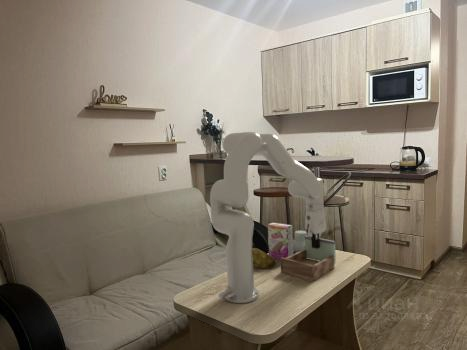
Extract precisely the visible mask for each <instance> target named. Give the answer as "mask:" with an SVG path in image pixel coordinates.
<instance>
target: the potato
mask: <svg viewBox="0 0 467 350" xmlns="http://www.w3.org/2000/svg"><path fill="white" fill-rule="evenodd" d="M252 255H253V266H255V267H257V268H259V269H271V268H273V267H274V266H276V259H274V258H273V257H272V256H270V255H269V253H266V252H265V251H263V250H261V249H259V248H255V247H252Z"/></svg>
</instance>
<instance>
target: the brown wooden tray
mask: <svg viewBox="0 0 467 350" xmlns="http://www.w3.org/2000/svg"><path fill="white" fill-rule="evenodd" d="M279 261H280V273H281V274H284V275H287V276H290V277H294V278H297V279H300V280H304V281H307V282H311V283H313V282H315V281H316V280H318V279H320V277H322V276H324V275H325V274H327V273H329V272H331V271H332V270H333V269H335V264H334V256H333V255H331V256H329V257H327V258H326V259H324V260H322V261H318V260H314V259H310V258H307V250H306V249H304V250H301V251H299V252H295V253H293V255H291V256H289V257H286V258H283V257H281V258H280V260H279Z"/></svg>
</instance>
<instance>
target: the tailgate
mask: <svg viewBox="0 0 467 350" xmlns="http://www.w3.org/2000/svg"><path fill="white" fill-rule="evenodd" d="M305 249H306V250H307V258H308V259H313V260H317V261H322V260H324V259H326V258H327V257H329V256H331V255H333V256H334V265H336V262H337V261H336V259H337V258H336V241H335V240H331V239H326V238H325V239H324V238H321V237H320V248H318V249H316V248H312V240H311V237H308V235H307V236H305Z"/></svg>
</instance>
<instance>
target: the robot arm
mask: <svg viewBox="0 0 467 350" xmlns="http://www.w3.org/2000/svg"><path fill="white" fill-rule="evenodd" d="M222 147H223V152H225V154H227V157H226V158H225V159H224V164H223V179H219V180H216V181H215V182H214V183H213V184H212V186H211V189H210V192H209V193H210V194H209V199H210V202H209V203H210V217H211V218H210V219H211V225H212V227H213V229H214V230H215V231H217V232H218V233H220V234H223V235H227V236H228V240H227V243H226V246H225V247H226V248H225V255H226V268H227V269H226V271H227V272H226V273H227V285H226V286H225V289H224V291H222V292H220V293H218V298H219V299H226V301H228V302H231V303H233V304H246V303H250V302H251V303H252V302H253V301H255V300H257V299H258V297H259V294H260V293H259V290H258V289H257V288H256V287H255V280H254V279H255V278H254V277H255V276H254V265H253V255H252V248H253V235H254V228H255V223H254V219H253V218H252V216H251V214H249V213H247V212H245V211H242V210H237V209H233V208H243V207H245V206H246V205H247V204H248V201H249V176H248V175H249V174H248V173H249V172H248V171H249V164H250V162H251V161H252V159H253V158H254V157H259V156H260V157H261V156H262V157H264V158H265V160H266V161H267V162H268V164H269V165H270V166H271V167H272V169H273V171H275V172H276V173H277V174H278V175H280V176H282V177H285V178H288V179H290V180H291V182H289V184H288V186H287V190H288V193H289V194H290V195H291V196H292V197H295V198H299V199H300V198H302V199H305V220H304V221H305V224H304V225H305V226H304V227H305V228H304V229H305V231H306V233H307V236H308V237H311V240H312V248H316V249H318V248H320V238H321V235H322V233H323V232H325V231H326V230H327V219H326V211H325V208H324V207H325V206H324V180H323V179H322V178H320V177H317V176H316V175H315V174H314V173H313V171H312V170H310V169H309V168H308V167H306V165H305V166H304V165H303V164H302V163H300V162H299V161H297V160H296V159H294V157H293V156H292V155H291V154H290V152H289V150H287V148H286V146H285V145H284V144H283V143H282V141H281V140H280V139H279V137H278V136H277V135H276V134H273V133H260V134H259V133H257V132H253V131H244V132H233V133H232V132H231V133H229V134H227V135H226V136H225V137H224V138H223V140H222Z"/></svg>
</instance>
